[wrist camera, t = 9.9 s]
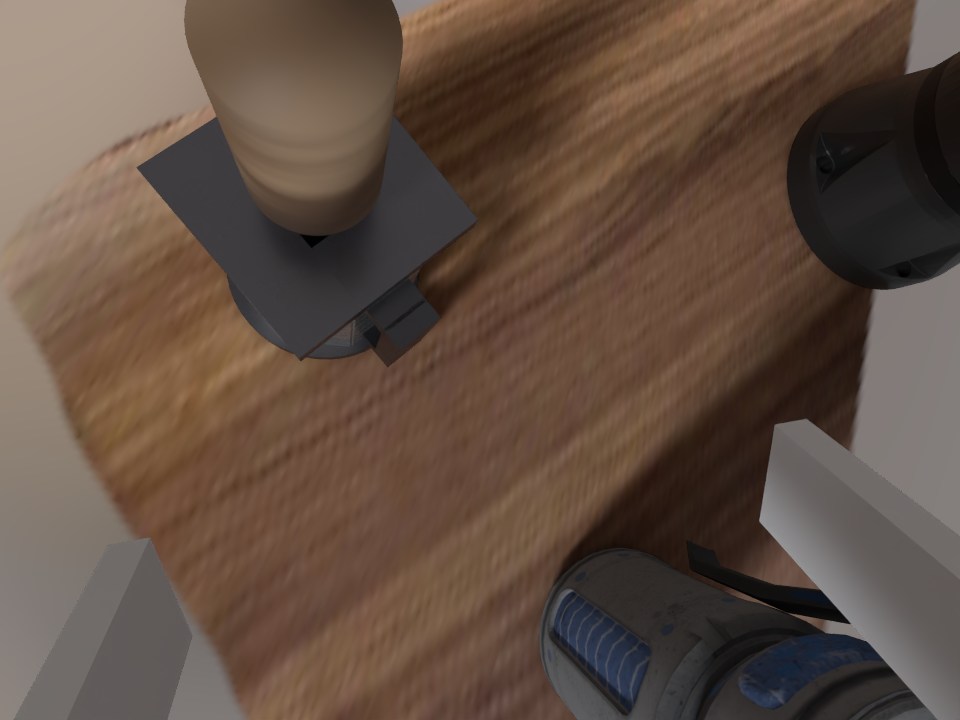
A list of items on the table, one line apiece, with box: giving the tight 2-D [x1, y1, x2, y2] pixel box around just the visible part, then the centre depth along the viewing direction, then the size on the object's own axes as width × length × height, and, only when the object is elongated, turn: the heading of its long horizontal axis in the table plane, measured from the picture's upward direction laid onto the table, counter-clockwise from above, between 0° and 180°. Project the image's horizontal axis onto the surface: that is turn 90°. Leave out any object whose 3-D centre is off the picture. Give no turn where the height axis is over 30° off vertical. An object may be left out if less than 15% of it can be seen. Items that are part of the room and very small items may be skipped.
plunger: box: [184, 0, 403, 248], centre depth 22 cm, size 5×5×16 cm
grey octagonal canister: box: [136, 115, 478, 367], centre depth 30 cm, size 12×11×12 cm
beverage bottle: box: [539, 540, 937, 720], centre depth 26 cm, size 10×13×25 cm
